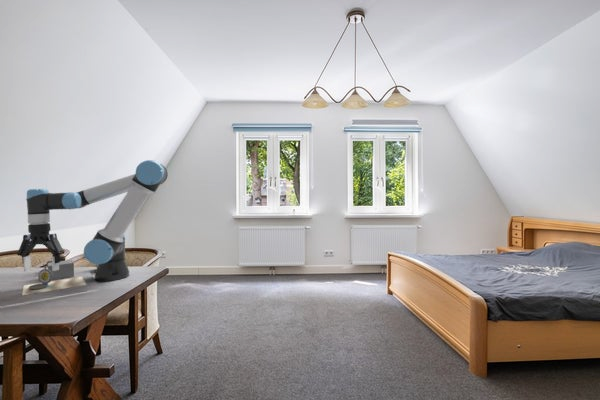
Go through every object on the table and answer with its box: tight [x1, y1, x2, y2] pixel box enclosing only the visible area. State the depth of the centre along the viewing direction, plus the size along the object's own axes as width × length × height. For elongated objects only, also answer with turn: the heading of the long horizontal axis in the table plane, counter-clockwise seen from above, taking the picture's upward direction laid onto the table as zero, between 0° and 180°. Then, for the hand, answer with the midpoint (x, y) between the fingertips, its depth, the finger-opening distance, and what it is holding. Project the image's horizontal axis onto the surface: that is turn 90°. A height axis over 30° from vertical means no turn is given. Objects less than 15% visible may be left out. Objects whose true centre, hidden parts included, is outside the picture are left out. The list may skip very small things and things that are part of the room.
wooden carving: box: [46, 254, 66, 267], centre depth 169 cm, size 16×5×10 cm, turn 68°
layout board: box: [21, 276, 87, 296], centre depth 140 cm, size 22×19×1 cm
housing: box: [47, 259, 75, 281], centre depth 155 cm, size 10×10×8 cm
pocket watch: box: [29, 263, 53, 289], centre depth 137 cm, size 8×8×10 cm
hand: (41, 270), depth 137 cm, fingers open, 13 cm apart
